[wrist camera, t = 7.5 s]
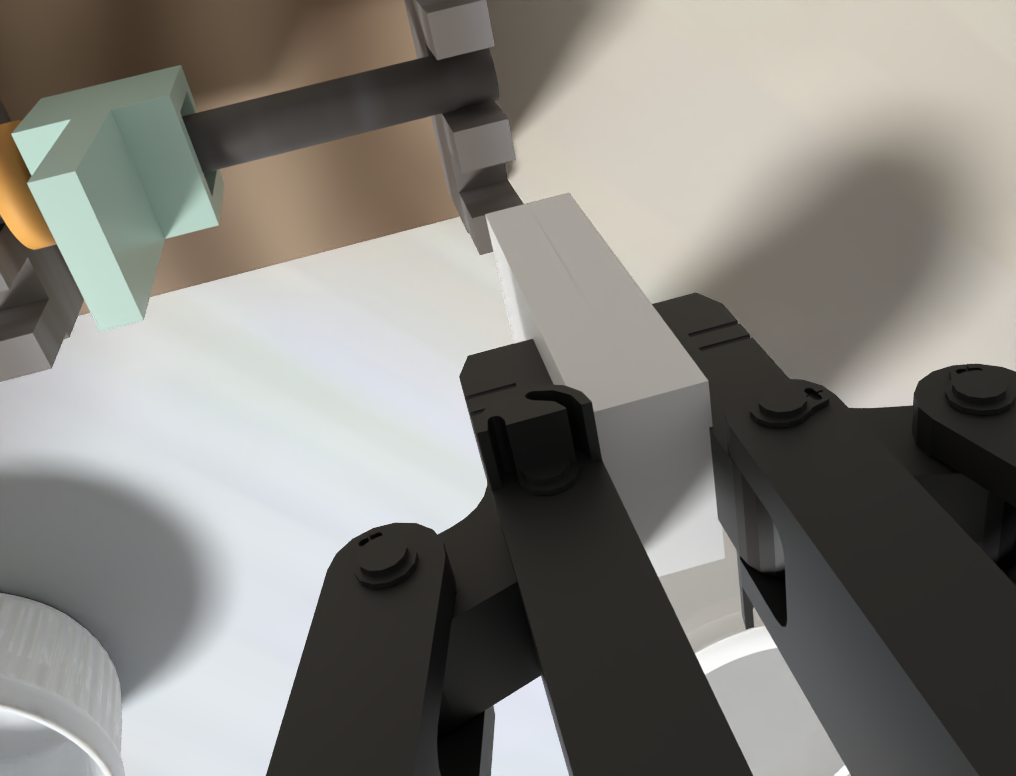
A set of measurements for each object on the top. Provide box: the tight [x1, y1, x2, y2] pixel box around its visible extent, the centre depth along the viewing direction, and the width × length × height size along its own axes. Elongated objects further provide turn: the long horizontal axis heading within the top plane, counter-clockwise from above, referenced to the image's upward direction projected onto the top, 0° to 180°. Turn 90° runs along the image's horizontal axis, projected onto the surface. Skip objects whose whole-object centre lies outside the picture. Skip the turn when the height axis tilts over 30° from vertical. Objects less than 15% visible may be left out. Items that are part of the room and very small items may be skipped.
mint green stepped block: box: [11, 65, 225, 332], centre depth 24 cm, size 4×4×9 cm
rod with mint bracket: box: [0, 0, 523, 382], centre depth 28 cm, size 20×12×8 cm, turn 101°
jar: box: [658, 527, 849, 776], centre depth 37 cm, size 11×10×15 cm
